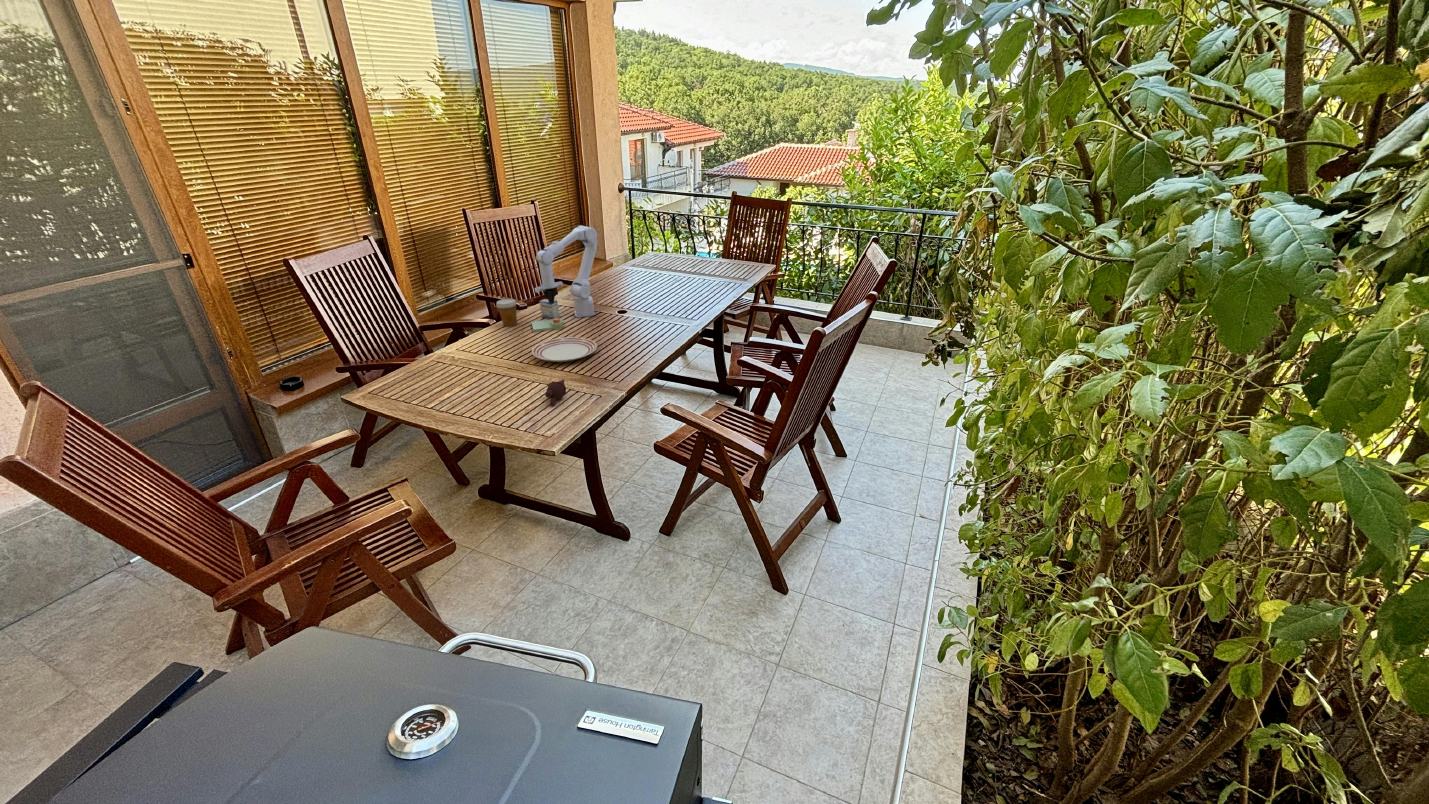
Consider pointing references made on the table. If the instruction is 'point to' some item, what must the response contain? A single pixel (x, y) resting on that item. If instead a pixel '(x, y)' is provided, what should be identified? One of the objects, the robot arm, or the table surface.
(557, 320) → the power button
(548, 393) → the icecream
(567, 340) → the dinner plate
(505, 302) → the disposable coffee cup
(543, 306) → the medicine box
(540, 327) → the scale
